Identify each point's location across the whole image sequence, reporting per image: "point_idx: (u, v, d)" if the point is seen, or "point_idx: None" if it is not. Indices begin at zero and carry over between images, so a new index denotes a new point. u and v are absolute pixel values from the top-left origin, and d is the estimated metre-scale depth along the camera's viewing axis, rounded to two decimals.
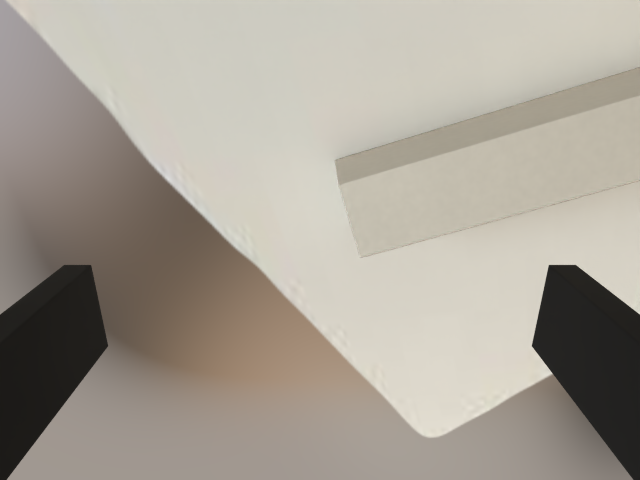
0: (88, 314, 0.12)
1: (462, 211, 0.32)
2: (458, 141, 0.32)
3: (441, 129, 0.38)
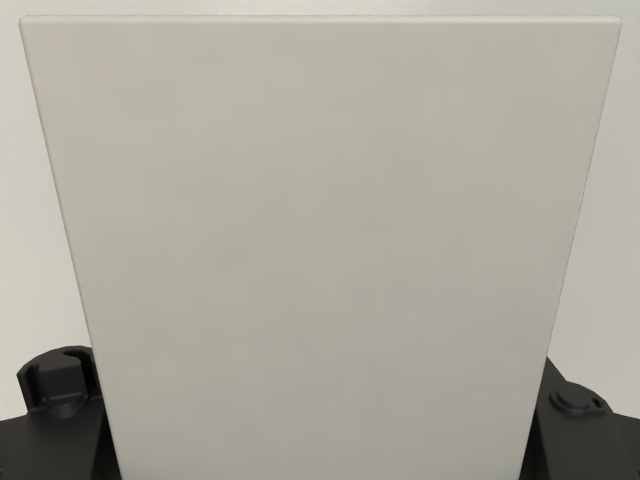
0: None
1: None
2: None
3: None
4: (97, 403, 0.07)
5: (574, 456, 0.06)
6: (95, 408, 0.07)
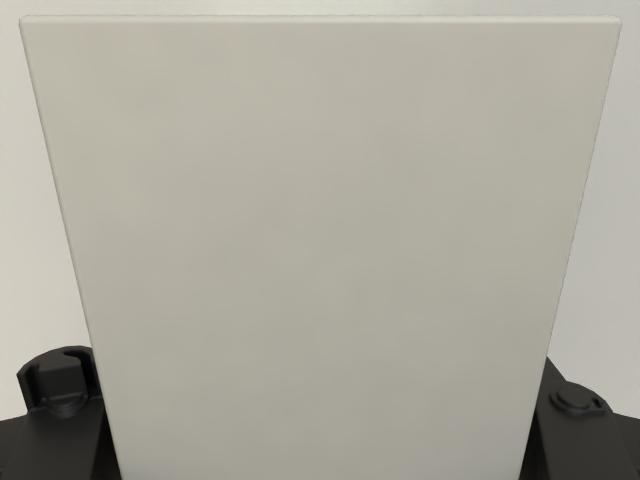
0: None
1: None
2: None
3: None
4: (97, 403, 0.07)
5: (574, 456, 0.06)
6: (95, 408, 0.07)
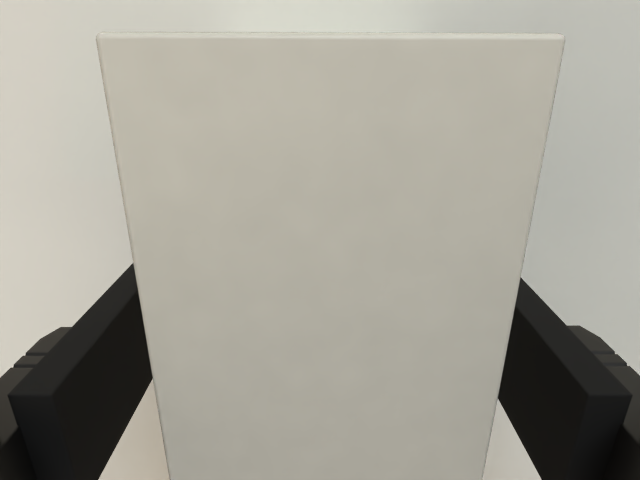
0: None
1: None
2: None
3: None
4: None
5: None
6: None
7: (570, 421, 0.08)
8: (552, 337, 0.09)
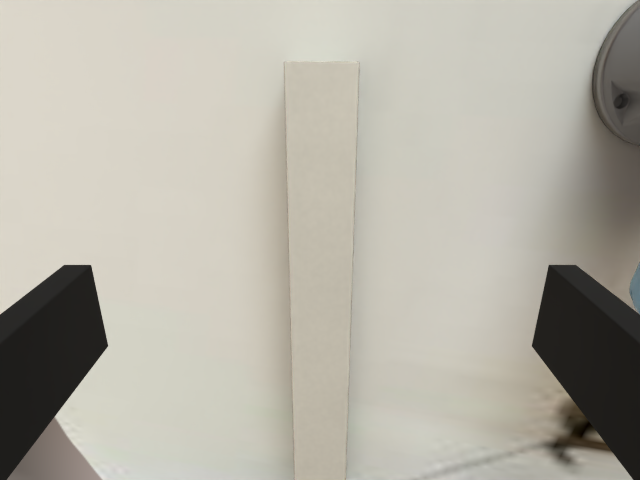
0: (88, 314, 0.12)
1: (303, 163, 0.38)
2: None
3: None
4: None
5: None
6: None
7: None
8: None
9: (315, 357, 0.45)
